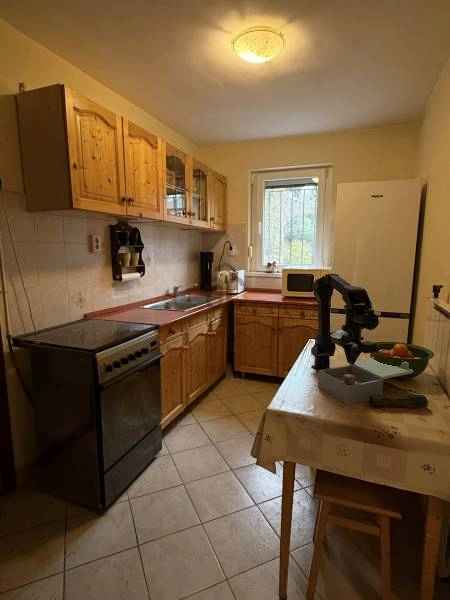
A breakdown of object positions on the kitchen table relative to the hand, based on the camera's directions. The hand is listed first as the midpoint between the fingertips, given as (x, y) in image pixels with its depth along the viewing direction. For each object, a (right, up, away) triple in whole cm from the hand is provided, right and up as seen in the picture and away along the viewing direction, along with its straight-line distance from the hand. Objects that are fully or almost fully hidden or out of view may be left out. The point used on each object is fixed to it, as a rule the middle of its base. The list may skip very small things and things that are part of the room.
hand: (350, 363), depth 118 cm
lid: (+14, -3, +6) cm, 16 cm away
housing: (0, -11, +2) cm, 11 cm away
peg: (0, -11, +2) cm, 11 cm away
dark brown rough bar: (+13, -13, -9) cm, 20 cm away
